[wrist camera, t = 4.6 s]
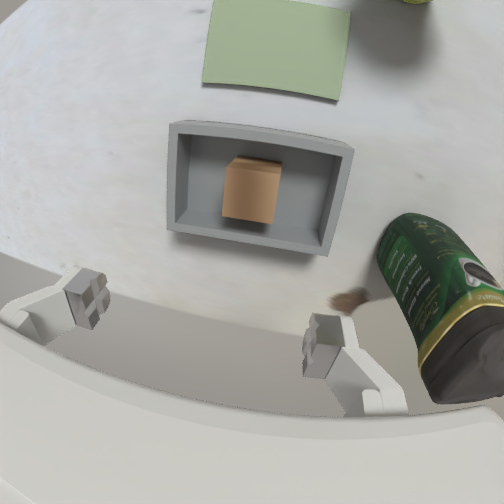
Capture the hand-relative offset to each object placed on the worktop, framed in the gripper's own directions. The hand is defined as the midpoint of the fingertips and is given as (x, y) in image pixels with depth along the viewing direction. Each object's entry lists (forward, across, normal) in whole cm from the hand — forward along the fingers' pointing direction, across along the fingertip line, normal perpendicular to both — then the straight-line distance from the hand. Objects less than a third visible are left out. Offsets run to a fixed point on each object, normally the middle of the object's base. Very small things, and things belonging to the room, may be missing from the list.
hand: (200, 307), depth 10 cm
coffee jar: (+18, -18, +4) cm, 26 cm away
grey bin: (+18, 0, 0) cm, 18 cm away
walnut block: (+18, 0, 0) cm, 18 cm away
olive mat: (+18, 0, -13) cm, 22 cm away
